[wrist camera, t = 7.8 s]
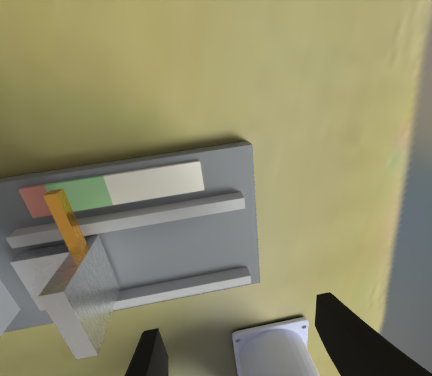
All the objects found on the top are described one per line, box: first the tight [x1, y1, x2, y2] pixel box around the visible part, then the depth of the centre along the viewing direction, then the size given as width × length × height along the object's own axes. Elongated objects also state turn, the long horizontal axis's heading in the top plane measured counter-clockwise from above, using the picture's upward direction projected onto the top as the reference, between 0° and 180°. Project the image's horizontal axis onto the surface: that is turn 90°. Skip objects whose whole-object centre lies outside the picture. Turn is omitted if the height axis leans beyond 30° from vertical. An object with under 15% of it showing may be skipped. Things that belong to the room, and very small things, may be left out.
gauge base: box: [0, 141, 260, 336], centre depth 15 cm, size 12×21×6 cm, turn 97°
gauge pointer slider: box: [10, 189, 120, 360], centre depth 13 cm, size 9×5×5 cm, turn 7°
